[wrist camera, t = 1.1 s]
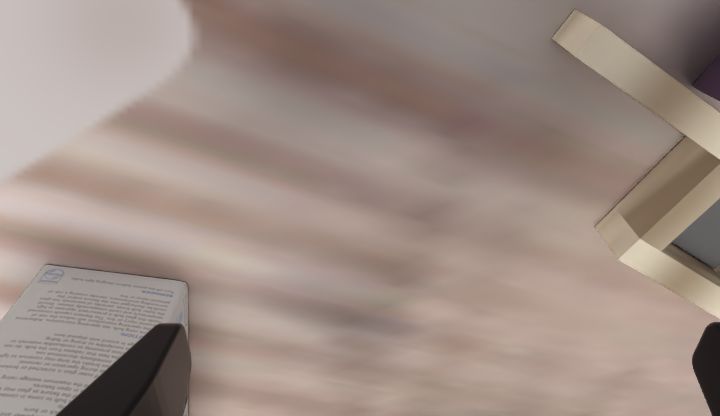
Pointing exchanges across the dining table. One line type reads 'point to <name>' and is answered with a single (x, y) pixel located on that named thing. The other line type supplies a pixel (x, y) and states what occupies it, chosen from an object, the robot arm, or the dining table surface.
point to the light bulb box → (77, 333)
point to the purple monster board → (710, 80)
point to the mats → (703, 236)
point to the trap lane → (658, 167)
